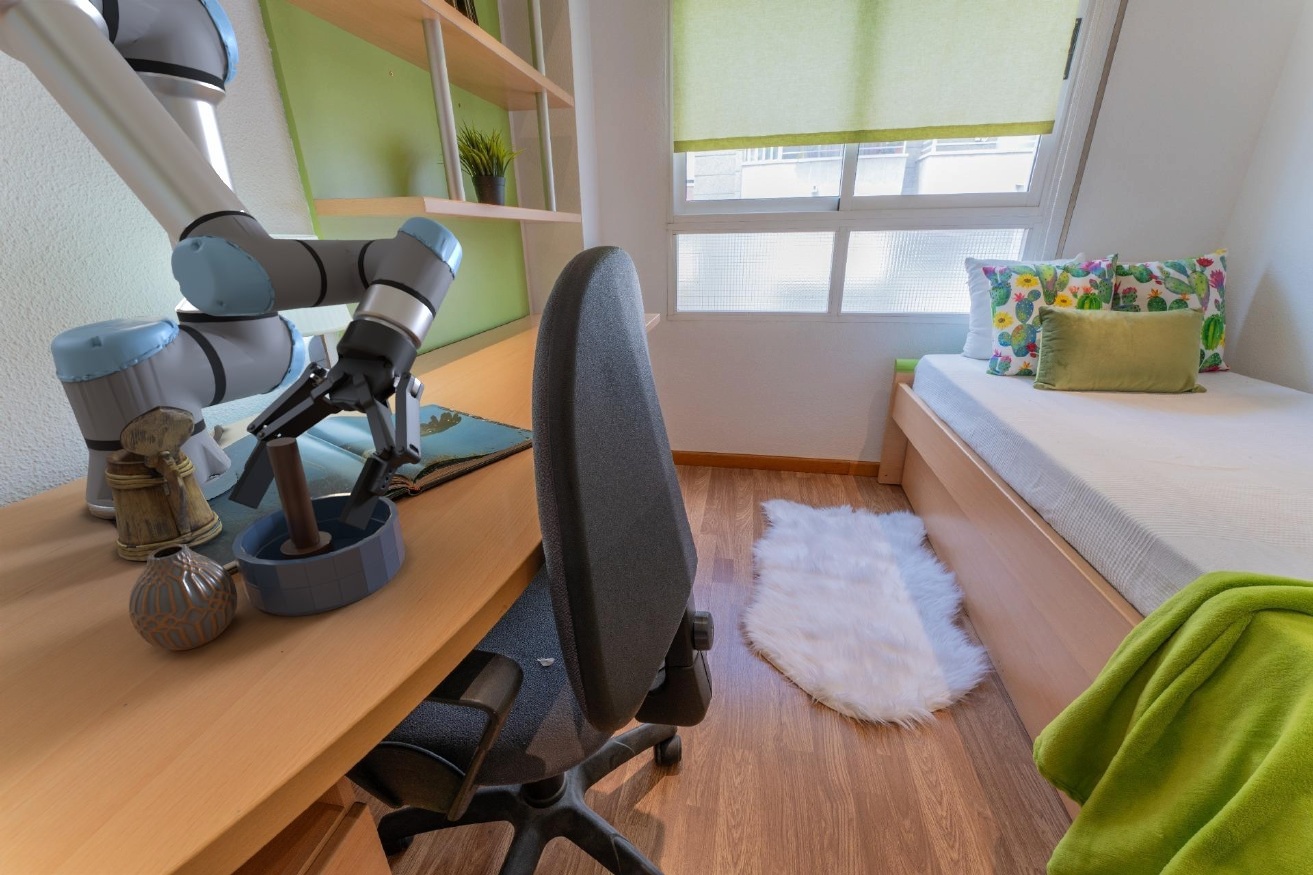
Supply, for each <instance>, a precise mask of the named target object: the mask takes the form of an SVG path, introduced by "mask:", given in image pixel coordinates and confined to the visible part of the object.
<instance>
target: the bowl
mask: <svg viewBox="0 0 1313 875" xmlns="http://www.w3.org/2000/svg"><path fill="white" fill-rule="evenodd" d="M350 494H351V492H342V493H332V494H326V495H321V496H316V497H310V498H311V502H312V506H313V510H314V515H315V519H316V523H317V527H318V531H321V532H327V533H329V534H330V535H331V536H332V540H333V545H334V549H335V552H332V553H328V554H324V555H319V556H315V557H310V558H306V559H295V560H284V561H283V557H282V553H281V546H282V545H283V544H284V543H285V542H286V541H287V540H289V539H290V535H289V531H288V527H287V523H286V520H285V516H284V512H283V508H282V506H281V507H278V508H276V509H274V510H271V511H269V512H267V513H265V514H263V515H261V516H260V517H258V518H256V519H255V520H253V521H251V522H249V523H247V525H245V526H244V527H243V528H242V529H241V530H240V531H239V532H238V533H237V534H236V535H235V536H234V539H233V542H232V545H231V552H232V555H233V557H234V558H233V559H234V561H235V565H236V568H237V571H238V574H239V577H240V580H241V583H242V587H243V590H244V593H245V596H246V597H247V599H248V602H249V603H250V604H251V605H252V606H254V607H255V608H258V609H260V610H261V611H263V612H266V613H268V614H273V615H276V616H283V617H284V616H285V617H286V616H288V617H296V616H309V615H315V614H320V613H326V612H329V611H332V610H336V609H339V608H342V607H345V606H348V605H351V604H353V603H356V602H358V601H360V600H363V599H364V598H366V597H368V596H370V595H372V594H374V593H375V592H377V591H378V590H380V589H382V587H384V586H385V585H387V584H388V583H389V582H390V581H391V580H392V579H393V578H394V577H395V575H396V574H397V573H398V572H399V570H400V569H401V567H402V565H403V562H404V561H405V559H406V550H405V545H404V539H403V532H402V527H401V526H402V525H401V521H400V517H399V516H400V515H399V511H398V506H397V503H395V502H394V501H392V500H391V499H390V498H389V497H387V496H383V497H381V496H380V497H379V499H378V501H377V503H376V505H375V508H374V510H373V512H372V514H371V517H370V519H369V521H368V523H367V526H366V528H365V530H360V529H356V528H354V527H351V526H349V525H346V524H344V523H341V522H339V521H338V520H339V517H340V515H341V513H342V511H343V509H344V507H345V505H346V503H347V501H348V498H349V496H350Z"/></svg>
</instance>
